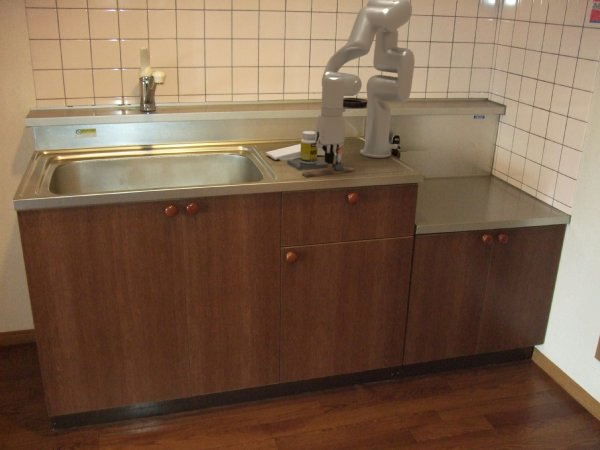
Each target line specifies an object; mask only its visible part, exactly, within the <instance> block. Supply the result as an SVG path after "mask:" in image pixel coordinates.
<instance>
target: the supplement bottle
mask: <svg viewBox="0 0 600 450" xmlns="http://www.w3.org/2000/svg"><path fill="white" fill-rule="evenodd" d="M315 132H316V131H312V130H305V131H302V138H301V140H300V144H301V150H300V158H299V159H300V162H302V163H305V164H314V163H316V162H317V159H318V155H317V147H316V144H317V142H315Z"/></svg>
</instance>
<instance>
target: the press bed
mask: <svg viewBox="0 0 600 450" xmlns="http://www.w3.org/2000/svg"><path fill="white" fill-rule="evenodd" d="M286 162H287V164H288V165H290V166H291V167H293V168H294V169H296V170H298V171H305V170H312V169H313V170H314V169H322V168H328V166H329V164H328V163H326V162H325V161H323V160H322V159H318V158H317V162H316V163H314V164H305V163H302V162H300V158H296V159H292V160H286Z"/></svg>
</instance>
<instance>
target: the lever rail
mask: <svg viewBox="0 0 600 450" xmlns="http://www.w3.org/2000/svg"><path fill="white" fill-rule="evenodd" d="M354 172H355V169H354V168H353V167H349V166H348V167H344V168H343V169H342V170H334V169H333V168H331V169H322V170H314V171H305V172H303V171H302V173H301V175H302V177H304V178H313V177H314V178H315V177H322V176H329V175H332V176H333V175H340V174H349V173H354Z"/></svg>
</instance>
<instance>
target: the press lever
mask: <svg viewBox="0 0 600 450" xmlns="http://www.w3.org/2000/svg"><path fill="white" fill-rule="evenodd" d="M342 153H343V149H342V148H341V147H338V149H337V150H336V155H335V160H334V161H335V162H333V164H331V166H332V168H331V169H334V170H342V169H343V168H345V167H344V163H342Z"/></svg>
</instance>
